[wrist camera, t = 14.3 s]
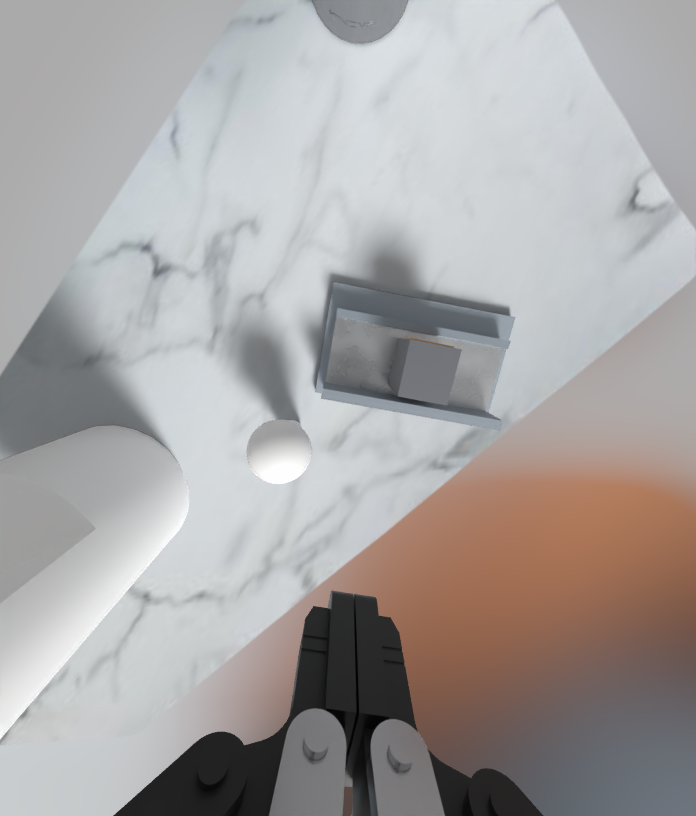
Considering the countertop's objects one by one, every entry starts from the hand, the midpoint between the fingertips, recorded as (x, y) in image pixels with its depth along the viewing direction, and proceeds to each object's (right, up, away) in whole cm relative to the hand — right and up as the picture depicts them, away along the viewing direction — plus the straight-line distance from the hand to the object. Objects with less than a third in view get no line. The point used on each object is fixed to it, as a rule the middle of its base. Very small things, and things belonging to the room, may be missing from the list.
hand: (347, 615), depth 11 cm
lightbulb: (-7, +4, +29) cm, 30 cm away
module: (+7, +11, +25) cm, 28 cm away
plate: (+7, +12, +26) cm, 29 cm away
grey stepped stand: (+7, +13, +27) cm, 31 cm away
